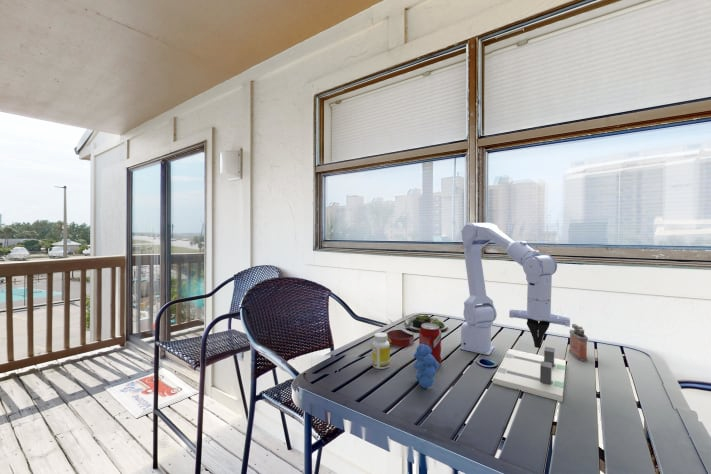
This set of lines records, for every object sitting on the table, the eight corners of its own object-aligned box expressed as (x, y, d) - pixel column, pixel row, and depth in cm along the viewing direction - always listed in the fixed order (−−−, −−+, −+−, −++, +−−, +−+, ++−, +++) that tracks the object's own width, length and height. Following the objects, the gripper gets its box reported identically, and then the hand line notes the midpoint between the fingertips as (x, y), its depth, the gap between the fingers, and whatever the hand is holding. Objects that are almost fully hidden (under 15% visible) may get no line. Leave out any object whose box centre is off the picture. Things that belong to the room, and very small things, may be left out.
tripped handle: (540, 382, 84) (540, 365, 84) (541, 376, 87) (541, 360, 87) (550, 384, 83) (551, 368, 83) (551, 378, 86) (552, 363, 86)
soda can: (428, 370, 95) (428, 330, 95) (414, 361, 101) (414, 324, 101) (445, 365, 98) (445, 327, 98) (431, 357, 104) (431, 321, 104)
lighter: (590, 362, 100) (590, 330, 99) (578, 361, 100) (578, 330, 100) (577, 351, 108) (578, 322, 107) (566, 351, 108) (567, 322, 108)
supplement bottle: (392, 363, 100) (391, 332, 99) (386, 370, 95) (386, 338, 94) (375, 360, 102) (375, 330, 102) (369, 367, 97) (369, 336, 97)
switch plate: (493, 383, 87) (493, 377, 87) (508, 353, 107) (508, 348, 107) (562, 401, 78) (562, 395, 78) (565, 365, 98) (565, 360, 97)
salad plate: (399, 319, 146) (399, 309, 146) (438, 318, 146) (438, 309, 146) (407, 334, 127) (407, 322, 126) (451, 333, 127) (451, 322, 127)
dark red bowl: (391, 349, 122) (392, 323, 127) (417, 351, 118) (417, 323, 122) (381, 345, 113) (382, 317, 118) (408, 346, 109) (409, 317, 113)
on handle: (544, 365, 94) (544, 350, 94) (545, 360, 97) (545, 346, 97) (553, 367, 93) (553, 352, 93) (554, 362, 96) (554, 348, 95)
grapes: (448, 397, 80) (449, 351, 80) (423, 400, 79) (423, 353, 79) (431, 375, 92) (431, 335, 91) (409, 377, 91) (409, 336, 90)
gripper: (507, 297, 89) (506, 345, 89) (570, 305, 80) (568, 358, 81) (512, 293, 94) (511, 337, 95) (570, 299, 86) (569, 348, 87)
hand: (537, 346), depth 88 cm, fingers closed
